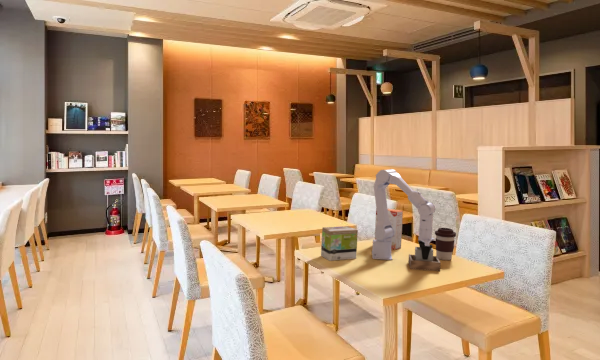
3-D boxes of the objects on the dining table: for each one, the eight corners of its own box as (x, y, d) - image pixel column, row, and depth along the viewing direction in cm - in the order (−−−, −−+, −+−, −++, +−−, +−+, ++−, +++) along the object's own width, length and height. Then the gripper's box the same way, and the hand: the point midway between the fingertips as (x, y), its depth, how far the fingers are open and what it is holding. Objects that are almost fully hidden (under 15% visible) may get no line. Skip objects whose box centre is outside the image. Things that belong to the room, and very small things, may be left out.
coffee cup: (455, 262, 202) (457, 231, 201) (434, 260, 204) (436, 230, 203) (452, 256, 212) (454, 227, 210) (432, 255, 214) (434, 226, 212)
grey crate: (415, 262, 191) (416, 249, 191) (414, 259, 196) (415, 246, 195) (432, 263, 190) (433, 250, 189) (431, 260, 195) (431, 247, 194)
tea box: (329, 261, 198) (330, 231, 196) (320, 256, 207) (321, 227, 206) (357, 258, 204) (358, 229, 202) (346, 253, 213) (347, 225, 212)
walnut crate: (410, 269, 189) (411, 260, 189) (408, 262, 199) (408, 254, 199) (439, 271, 187) (440, 262, 187) (436, 264, 197) (436, 256, 197)
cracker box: (373, 244, 232) (375, 207, 230) (380, 243, 236) (381, 206, 234) (395, 250, 222) (396, 211, 220) (401, 248, 226) (403, 210, 224)
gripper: (437, 232, 184) (435, 262, 185) (432, 226, 198) (430, 253, 199) (420, 231, 185) (419, 261, 186) (417, 225, 199) (415, 252, 200)
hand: (424, 257), depth 193 cm, fingers closed on grey crate, 5 cm apart
